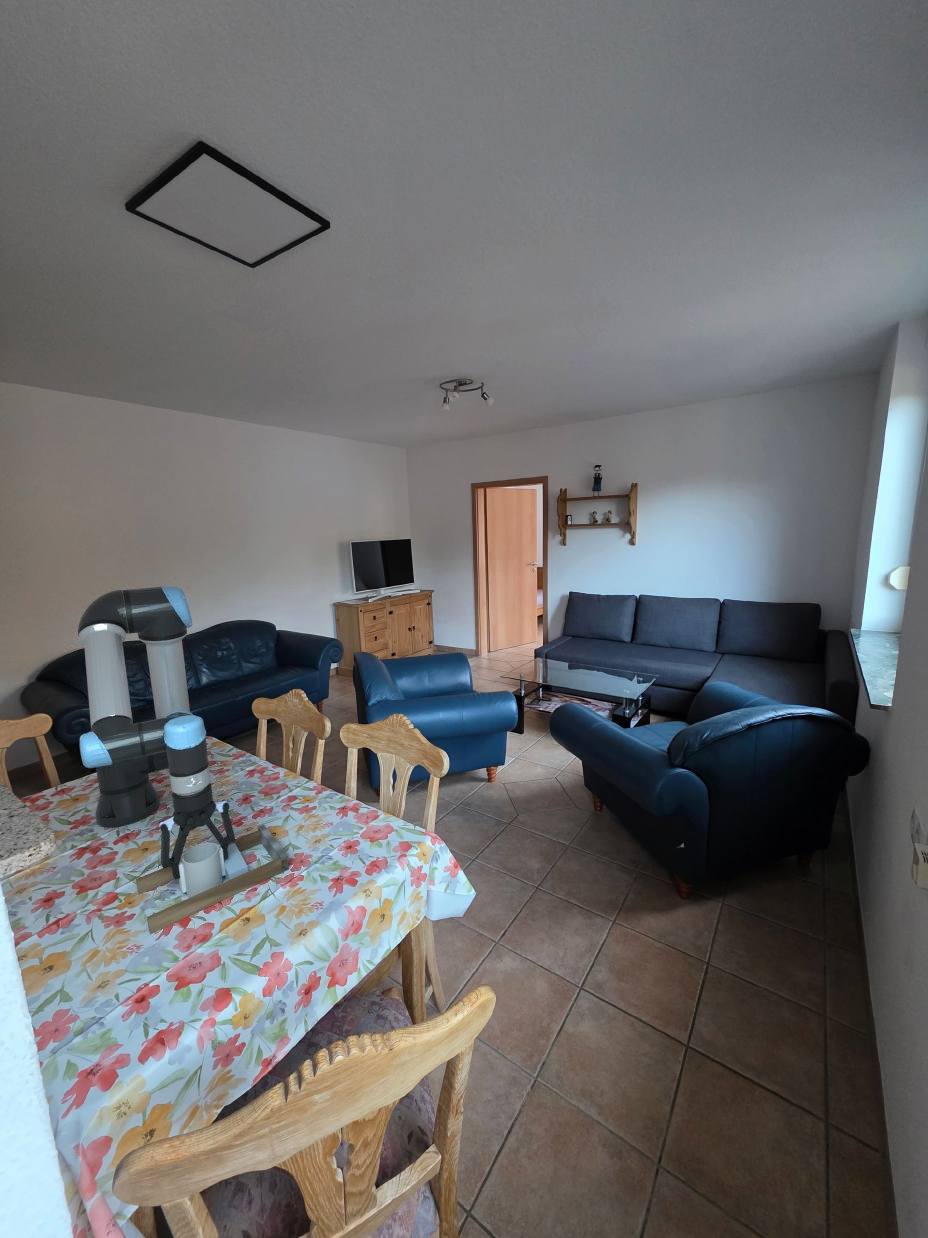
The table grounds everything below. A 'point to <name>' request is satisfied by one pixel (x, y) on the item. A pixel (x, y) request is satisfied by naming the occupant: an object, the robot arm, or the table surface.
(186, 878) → the cup
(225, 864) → the block
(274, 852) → the channel
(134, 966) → the table surface
